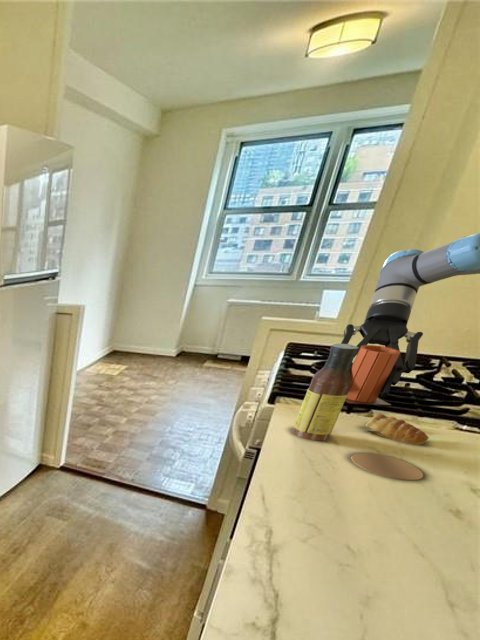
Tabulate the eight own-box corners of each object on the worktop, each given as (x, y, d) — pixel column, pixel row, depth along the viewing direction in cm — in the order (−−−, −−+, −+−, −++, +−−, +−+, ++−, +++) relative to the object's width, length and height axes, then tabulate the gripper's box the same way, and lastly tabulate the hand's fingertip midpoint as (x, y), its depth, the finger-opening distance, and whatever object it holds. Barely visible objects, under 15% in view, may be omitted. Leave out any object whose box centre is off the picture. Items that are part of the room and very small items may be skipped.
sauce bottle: (333, 438, 103) (377, 347, 94) (319, 445, 100) (363, 353, 91) (297, 427, 108) (335, 339, 99) (283, 433, 105) (321, 344, 96)
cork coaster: (394, 457, 96) (395, 454, 96) (437, 484, 87) (438, 481, 87) (338, 454, 97) (339, 451, 97) (374, 480, 89) (376, 477, 88)
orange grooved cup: (362, 392, 121) (385, 345, 115) (383, 403, 115) (408, 354, 109) (332, 391, 122) (353, 344, 116) (351, 401, 116) (375, 353, 110)
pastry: (430, 442, 101) (440, 426, 99) (414, 450, 98) (424, 433, 96) (374, 425, 108) (382, 409, 106) (358, 431, 106) (366, 416, 104)
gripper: (439, 324, 116) (413, 408, 113) (331, 313, 127) (305, 389, 124) (455, 305, 110) (428, 394, 106) (341, 296, 121) (313, 376, 118)
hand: (362, 391), depth 115 cm, fingers closed on orange grooved cup, 7 cm apart
